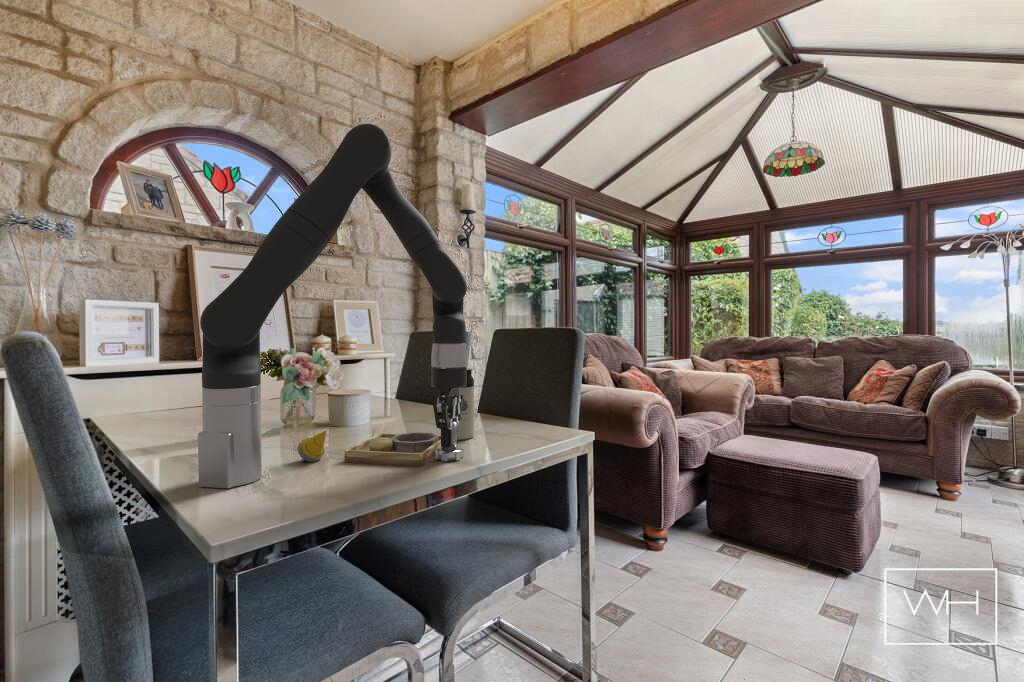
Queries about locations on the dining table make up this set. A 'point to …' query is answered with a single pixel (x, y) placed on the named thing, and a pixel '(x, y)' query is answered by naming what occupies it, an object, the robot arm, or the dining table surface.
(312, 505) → the dining table surface
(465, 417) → the travel mug
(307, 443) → the yellow grey teardrop
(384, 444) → the carrier
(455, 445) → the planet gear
